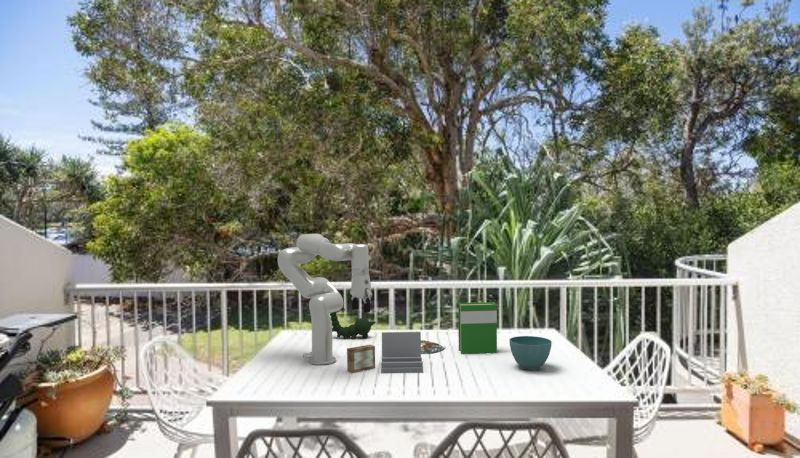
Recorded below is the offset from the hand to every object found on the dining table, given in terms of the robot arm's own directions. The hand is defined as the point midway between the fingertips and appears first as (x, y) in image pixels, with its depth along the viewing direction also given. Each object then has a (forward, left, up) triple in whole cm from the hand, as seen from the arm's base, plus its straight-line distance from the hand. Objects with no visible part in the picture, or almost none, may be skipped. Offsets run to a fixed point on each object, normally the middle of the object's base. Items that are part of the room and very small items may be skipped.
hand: (361, 310), depth 243 cm
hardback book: (+56, +28, -26) cm, 68 cm away
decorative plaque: (+26, +39, -27) cm, 54 cm away
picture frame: (0, 0, -26) cm, 26 cm away
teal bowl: (+75, -1, -26) cm, 79 cm away
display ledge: (+18, +3, -26) cm, 32 cm away
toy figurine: (-8, +62, -26) cm, 68 cm away
